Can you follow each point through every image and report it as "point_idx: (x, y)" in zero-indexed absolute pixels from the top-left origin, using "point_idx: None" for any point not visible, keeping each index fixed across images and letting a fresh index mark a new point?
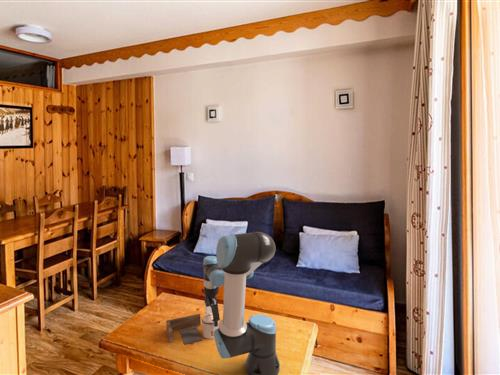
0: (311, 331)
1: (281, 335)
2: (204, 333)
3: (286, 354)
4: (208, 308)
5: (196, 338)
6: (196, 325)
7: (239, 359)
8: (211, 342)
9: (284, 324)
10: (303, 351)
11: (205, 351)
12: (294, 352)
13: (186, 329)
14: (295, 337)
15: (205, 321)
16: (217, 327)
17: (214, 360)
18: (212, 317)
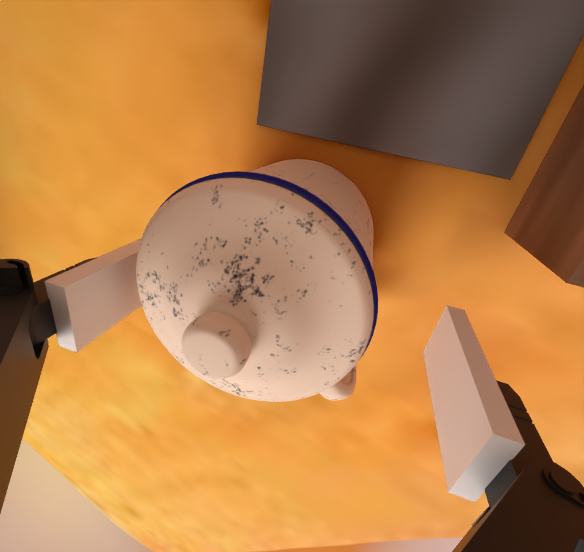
0: (114, 521)
1: (124, 463)
2: (267, 165)
3: None
4: (462, 434)
5: (310, 80)
6: (531, 189)
7: (2, 235)
8: None
9: (188, 517)
10: None
11: (111, 78)
12: None
13: (572, 37)
14: (98, 477)
15: (178, 202)
16: None
17: (7, 94)
18: (171, 324)
